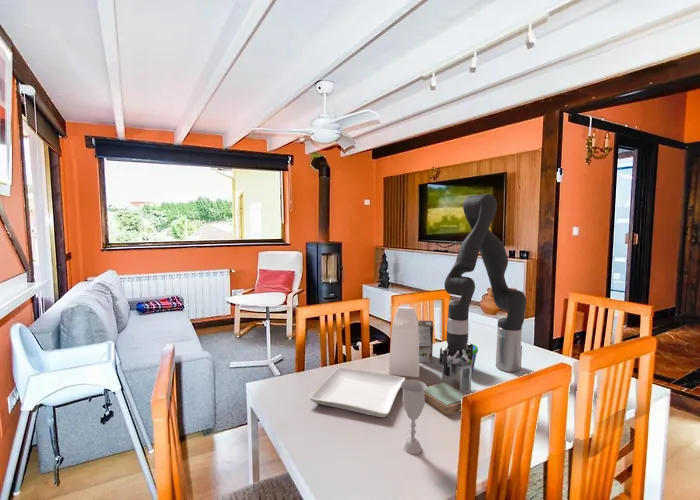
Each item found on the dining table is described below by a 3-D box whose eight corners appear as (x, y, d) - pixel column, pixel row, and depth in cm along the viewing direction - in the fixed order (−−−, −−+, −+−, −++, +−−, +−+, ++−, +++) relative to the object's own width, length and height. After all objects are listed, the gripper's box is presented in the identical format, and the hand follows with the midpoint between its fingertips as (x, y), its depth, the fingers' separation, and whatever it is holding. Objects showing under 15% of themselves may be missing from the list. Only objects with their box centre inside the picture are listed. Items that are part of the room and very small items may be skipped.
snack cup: (448, 361, 164) (449, 339, 163) (474, 363, 162) (475, 340, 161) (451, 377, 149) (452, 352, 147) (479, 379, 147) (480, 354, 146)
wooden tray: (443, 389, 138) (444, 381, 138) (473, 407, 126) (473, 397, 126) (418, 397, 132) (418, 388, 132) (446, 416, 120) (446, 406, 120)
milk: (419, 365, 160) (420, 305, 157) (419, 377, 149) (420, 312, 146) (390, 363, 162) (391, 303, 159) (388, 374, 151) (389, 310, 148)
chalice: (397, 440, 108) (398, 380, 106) (421, 439, 108) (422, 379, 106) (403, 457, 100) (404, 392, 98) (428, 456, 101) (430, 391, 99)
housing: (452, 381, 145) (453, 355, 144) (470, 391, 137) (471, 364, 136) (441, 384, 142) (442, 358, 141) (459, 394, 135) (460, 367, 134)
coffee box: (432, 363, 162) (433, 326, 160) (417, 362, 163) (417, 325, 162) (432, 355, 171) (433, 320, 169) (417, 354, 172) (418, 319, 171)
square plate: (308, 408, 126) (308, 397, 125) (338, 374, 151) (338, 365, 151) (387, 424, 116) (387, 412, 116) (406, 386, 142) (406, 376, 142)
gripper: (464, 325, 144) (462, 366, 146) (435, 330, 137) (433, 373, 139) (479, 330, 138) (477, 373, 139) (450, 336, 131) (448, 381, 133)
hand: (455, 373), depth 139 cm, fingers open, 8 cm apart
